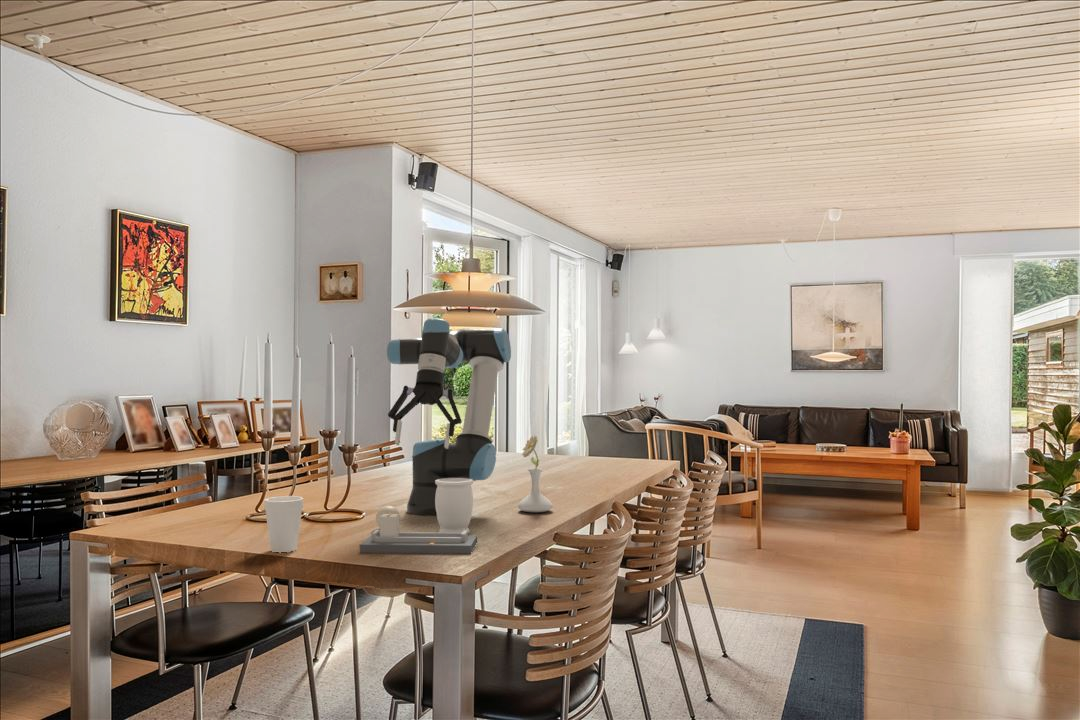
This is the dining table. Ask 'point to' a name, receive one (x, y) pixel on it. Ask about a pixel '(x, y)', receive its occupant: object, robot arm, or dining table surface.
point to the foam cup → (283, 522)
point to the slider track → (420, 543)
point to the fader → (389, 525)
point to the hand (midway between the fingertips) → (421, 446)
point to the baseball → (386, 512)
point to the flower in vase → (534, 484)
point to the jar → (453, 504)
